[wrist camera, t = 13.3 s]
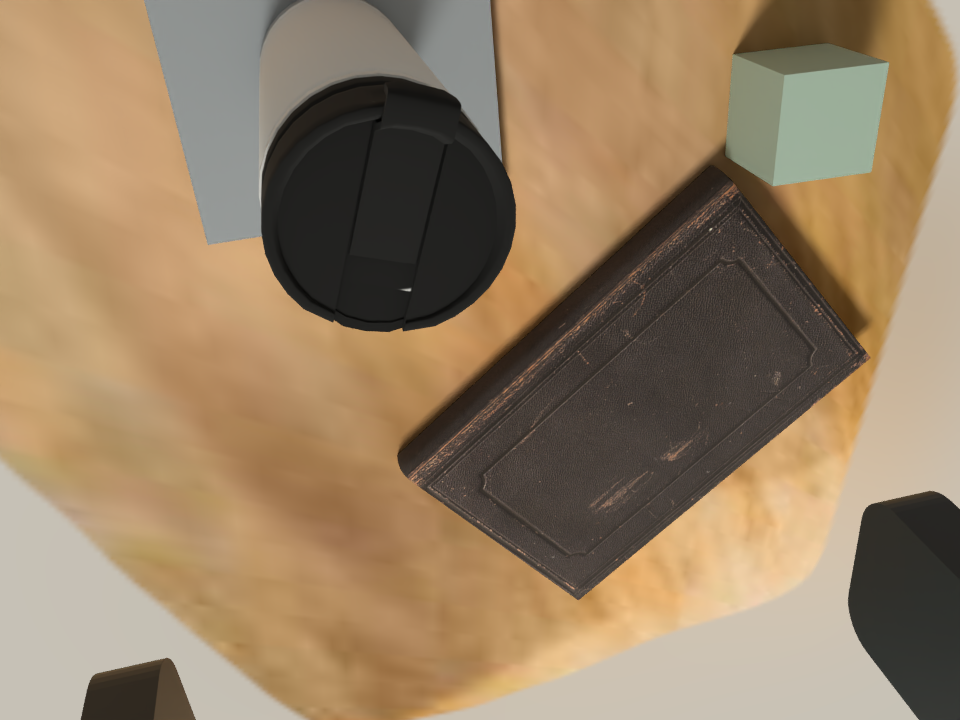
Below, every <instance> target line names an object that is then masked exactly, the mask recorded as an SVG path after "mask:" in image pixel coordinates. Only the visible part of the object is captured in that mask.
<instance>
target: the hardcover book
mask: <svg viewBox="0 0 960 720" xmlns="http://www.w3.org/2000/svg"><path fill="white" fill-rule="evenodd" d="M869 359H870V356H869V355H868V354H867V352H866V351H865V350H864V349H863V347H862V346H861V345H860V343H859V342H858V341H857V340H856V338H855V337H854V336H853V335H852V333H851V332H850V331H849V329H848V328H847V327H846V326H845V324H844V323H843V322H842V320H841V319H840V318H839V317H838V315H837V314H836V313H835V312H834V310H833V309H832V308H831V306H830V305H829V304H828V303H827V301H826V300H825V299H824V297H823V296H822V295H821V294H820V292H819V291H818V290H817V289H816V287H815V286H814V285H813V283H812V282H811V281H810V280H809V278H808V277H807V276H806V275H805V273H804V272H803V271H802V269H801V268H800V267H799V266H798V264H797V263H796V262H795V260H794V259H793V258H792V257H791V255H790V254H789V253H788V252H787V250H786V249H785V248H784V246H783V245H782V244H781V243H780V241H779V240H778V239H777V237H776V236H775V235H774V234H773V232H772V231H771V230H770V229H769V227H768V226H767V225H766V223H765V222H764V221H763V220H762V218H761V217H760V216H759V214H758V213H757V212H756V211H755V209H754V208H753V207H752V206H751V204H750V203H749V202H748V200H747V199H746V198H745V197H744V195H743V194H742V193H741V191H740V190H739V189H738V188H737V186H736V185H735V184H734V183H733V181H732V180H731V179H730V178H729V177H727V176H726V175H725V174H724V173H723V172H722V171H720V170H719V169H718V168H716V167H714V166H710V167H708V168H707V169H706V170H705V171H704V172H703V173H702V174H701V175H700V176H699V177H698V178H697V179H695V180H694V181H693V182H692V183H691V184H690V185H689V186H688V187H687V188H686V189H685V190H684V191H682V192H681V193H680V194H679V195H678V196H677V197H676V198H675V199H674V200H673V201H672V202H671V203H669V204H668V205H667V206H666V207H665V208H664V209H663V210H662V211H661V212H660V213H659V214H658V215H657V216H655V217H654V218H653V219H652V220H651V221H650V222H649V223H648V224H647V225H646V226H645V227H644V228H642V229H641V230H640V231H639V232H638V233H637V234H636V235H635V236H634V237H633V238H632V239H631V240H629V241H628V242H627V243H626V244H625V245H624V246H623V247H622V248H621V249H620V250H619V251H618V252H616V253H615V254H614V255H613V256H612V257H611V258H610V259H609V260H608V261H607V262H606V263H605V264H604V265H602V266H601V267H600V268H599V269H598V270H597V271H596V272H595V273H594V274H593V275H592V276H591V277H589V278H588V279H587V280H586V281H585V282H584V283H583V284H582V285H581V286H580V287H579V288H578V289H576V290H575V291H574V292H573V293H572V294H571V295H570V296H569V297H568V298H567V299H566V300H565V301H563V302H562V303H561V304H560V305H559V306H558V307H557V308H556V309H555V310H554V311H553V312H552V313H551V314H549V315H548V316H547V317H546V318H545V319H544V320H543V321H542V322H541V323H540V324H539V325H538V326H536V327H535V328H534V329H533V330H532V331H531V332H530V333H529V334H528V335H527V336H526V337H525V338H523V339H522V340H521V341H520V342H519V343H518V344H517V345H516V346H515V347H514V348H513V349H512V350H510V351H509V352H508V353H507V354H506V355H505V356H504V357H503V358H502V359H501V360H500V361H499V362H497V363H496V364H495V365H494V366H493V367H492V368H491V369H490V370H489V371H488V372H487V373H486V374H485V375H483V376H482V377H481V378H480V379H479V380H478V381H477V382H476V383H475V384H474V385H473V386H472V387H470V388H469V389H468V390H467V391H466V392H465V393H464V394H463V395H462V396H461V397H460V398H459V399H457V400H456V401H455V402H454V403H453V404H452V405H451V406H450V407H449V408H448V409H447V410H446V411H444V412H443V413H442V414H441V415H440V416H439V417H438V418H437V419H436V420H435V421H434V422H433V423H432V424H430V425H429V426H428V427H427V428H426V429H425V430H424V431H423V432H422V433H421V434H420V435H419V436H417V437H416V438H415V439H414V440H413V441H412V442H411V443H410V444H409V445H408V446H407V447H406V448H404V449H403V450H402V451H401V452H400V453H399V454H398V455H397V457H398V463H399V466H400V469H401V471H402V472H403V474H404V475H405V476H406V477H407V478H408V479H409V480H410V481H412V482H413V483H415V484H416V485H417V486H419V487H420V488H422V489H423V490H424V491H426V492H427V493H429V494H430V495H431V496H433V497H434V498H436V499H437V500H438V501H440V502H441V503H443V504H444V505H445V506H447V507H448V508H450V509H451V510H452V511H454V512H455V513H457V514H458V515H459V516H461V517H462V518H464V519H465V520H466V521H468V522H469V523H471V524H472V525H473V526H475V527H476V528H478V529H479V530H481V531H482V532H483V533H485V534H486V535H488V536H489V537H490V538H492V539H493V540H495V541H496V542H497V543H499V544H500V545H502V546H503V547H504V548H506V549H507V550H509V551H510V552H511V553H513V554H514V555H516V556H517V557H518V558H520V559H521V560H523V561H524V562H525V563H527V564H528V565H530V566H531V567H532V568H534V569H535V570H537V571H538V572H539V573H541V574H542V575H544V576H545V577H546V578H548V579H549V580H551V581H552V582H553V583H555V584H556V585H558V586H559V587H560V588H562V589H563V590H565V591H566V592H567V593H569V594H570V595H572V596H573V597H574V598H576V599H577V600H579V599H581V598H582V597H583V596H584V595H585V594H587V593H588V592H589V591H590V590H591V589H593V588H594V587H595V586H596V585H597V584H599V583H600V582H601V581H602V580H603V579H605V578H606V577H607V576H608V575H609V574H611V573H612V572H613V571H614V570H615V569H617V568H618V567H619V566H620V565H621V564H623V563H624V562H625V561H626V560H628V559H629V558H630V557H631V556H632V555H634V554H635V553H636V552H637V551H638V550H640V549H641V548H642V547H643V546H644V545H646V544H647V543H648V542H649V541H650V540H652V539H653V538H654V537H655V536H656V535H658V534H659V533H660V532H661V531H662V530H664V529H665V528H666V527H667V526H669V525H670V524H671V523H672V522H673V521H675V520H676V519H677V518H678V517H679V516H681V515H682V514H683V513H684V512H685V511H687V510H688V509H689V508H690V507H691V506H693V505H694V504H695V503H696V502H697V501H699V500H700V499H701V498H702V497H703V496H705V495H706V494H707V493H708V492H710V491H711V490H712V489H713V488H714V487H716V486H717V485H718V484H719V483H720V482H722V481H723V480H724V479H725V478H726V477H728V476H729V475H730V474H731V473H732V472H734V471H735V470H736V469H737V468H738V467H740V466H741V465H742V464H743V463H744V462H746V461H747V460H748V459H749V458H751V457H752V456H753V455H754V454H755V453H757V452H758V451H759V450H760V449H761V448H763V447H764V446H765V445H766V444H767V443H769V442H770V441H771V440H772V439H773V438H775V437H776V436H777V435H778V434H779V433H781V432H782V431H783V430H784V429H785V428H787V427H788V426H789V425H790V424H792V423H793V422H794V421H795V420H796V419H798V418H799V417H800V416H801V415H802V414H804V413H805V412H806V411H807V410H808V409H810V408H811V407H812V406H813V405H814V404H816V403H817V402H818V401H819V400H820V399H822V398H823V397H824V396H825V395H826V394H828V393H829V392H830V391H831V390H833V389H834V388H835V387H836V386H837V385H839V384H840V383H841V382H842V381H843V380H845V379H846V378H847V377H848V376H849V375H851V374H852V373H853V372H854V371H855V370H857V369H858V368H859V367H860V366H861V365H863V364H864V363H865V362H866V361H867V360H869Z"/></svg>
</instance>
